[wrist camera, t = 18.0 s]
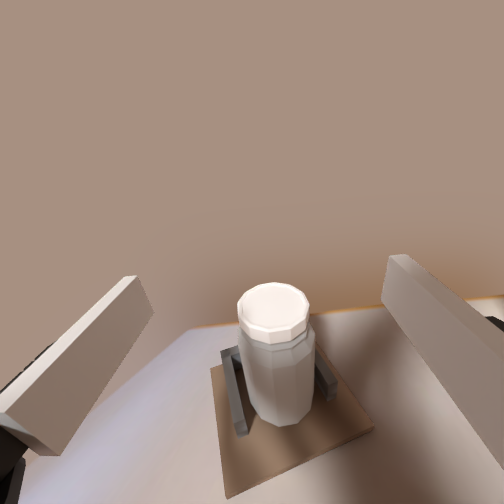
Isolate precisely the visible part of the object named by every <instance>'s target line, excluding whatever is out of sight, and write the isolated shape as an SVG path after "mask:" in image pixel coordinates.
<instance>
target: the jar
mask: <svg viewBox="0 0 504 504" xmlns="http://www.w3.org/2000/svg"><path fill="white" fill-rule="evenodd" d="M237 306H238V318H239V323H240V327H239V329H238V348H239V352H240V357H241V361H242V366H243V371H244V375H245V380H246V384H247V389H248V394H249V398H250V403H251V404H252V406H253V407H254V409H255V410H256V412H257V413H258V415H259V416H260V418H261V419H263V420H265V421H267V422H269V423H272V424H274V425H276V426H278V427H281V426H286V425H292V424H297V423H299V421H300V420H301V419H302V418H303V417H304V416H305V415H306V414H307V413H308V412H309V411H310V410H311V404H312V399H313V393H314V362H315V332H314V330H313V328H312V326H311V324H310V322H309V310H310V304H309V302H308V300H307V298H306V296H305V295H304V293H303V292H302V291H300V290H298V289H297V288H295V287H293V286H292V285H289V284H282V283H276V282H273V283H267V284H261V285H257V286H255V287H254V288H252V289H250V290H248V291H246V292H245V293H244V294H243V296H242V297H241V299H240V300H239V301H238V303H237Z"/></svg>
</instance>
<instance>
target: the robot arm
mask: <svg viewBox="0 0 504 504" xmlns="http://www.w3.org/2000/svg"><path fill="white" fill-rule="evenodd" d="M381 301H382V303H383V304H384V305H385V307H386V308H387V310H388V311H389V312H390V314H391V315H392V316H393V318H394V319H395V321H396V322H397V323H398V325H399V326H400V328H401V329H402V330H403V332H404V333H405V334H406V336H407V337H408V339H409V340H410V341H411V343H412V344H413V345H414V347H415V348H416V350H417V351H418V352H419V354H420V355H421V357H422V358H423V359H424V361H425V362H426V363H427V365H428V366H429V368H430V369H431V370H432V372H433V373H434V375H435V376H436V377H437V379H438V380H439V381H440V383H441V384H442V386H443V387H444V388H445V390H446V391H447V393H448V394H449V395H450V397H451V398H452V399H453V401H454V402H455V404H456V405H457V406H458V408H459V409H460V411H461V412H462V413H463V415H464V416H465V417H466V419H467V420H468V422H469V423H470V424H471V426H472V427H473V429H474V430H475V431H476V433H477V434H478V435H479V437H480V438H481V440H482V441H483V442H484V444H485V445H486V447H487V448H488V449H489V451H490V452H491V453H492V455H493V456H494V458H495V459H496V460H497V462H498V463H499V465H500V466H501V467H502V469H503V470H504V322H503V321H501V320H499V319H497V318H495V317H493V316H489V317H484V316H483V315H481V314H480V313H479V312H478V311H476V310H475V309H474V308H473V307H471V306H470V305H469V304H468V303H466V302H465V301H464V300H463V299H461V298H460V297H459V296H458V295H456V294H455V293H454V292H453V291H451V290H450V289H449V288H448V287H446V286H445V285H444V284H443V283H441V282H440V281H439V280H438V279H437V278H435V277H434V276H433V275H431V274H430V273H429V272H428V271H427V270H425V269H424V268H423V267H421V266H420V265H419V264H418V263H416V262H415V261H414V260H413V259H411V258H410V257H409V256H408V255H406V254H403V255H391V256H389V260H388V265H387V270H386V275H385V280H384V285H383V290H382V295H381ZM153 314H154V311H153V309H152V306H151V304H150V302H149V300H148V298H147V296H146V293H145V291H144V289H143V287H142V285H141V283H140V280H139V278H138V276H126V277H124V278H123V279H122V280H121V281H119V282H118V283H117V284H116V285H115V286H114V287H113V288H112V289H111V290H110V291H109V292H108V293H107V294H106V295H105V296H104V297H103V298H102V299H100V300H99V301H98V302H97V303H96V304H95V305H94V306H93V307H92V308H91V309H90V310H89V311H88V312H87V313H86V314H85V315H83V316H82V317H81V318H80V319H79V320H78V321H77V322H76V323H75V324H74V325H73V326H72V327H71V328H70V329H69V330H68V331H67V332H66V333H65V334H64V335H62V336H61V337H60V338H59V339H58V340H57V341H55V342H54V343H52V344H51V345H50V346H48V347H47V348H46V349H45V350H44V351H43V352H41V353H40V354H39V355H38V356H37V357H36V358H35V360H34V361H32V362H31V363H30V364H29V365H28V366H26V367H25V368H24V371H23V372H20V373H19V374H18V375H17V376H16V377H15V378H14V379H12V381H10V382H9V383H8V384H7V385H6V386H5V387H4V388H3V389H2V390H1V391H0V504H18V500H19V495H20V490H21V485H22V481H23V476H24V471H25V466H26V464H25V459H24V458H23V457H22V455H23V454H24V453H25V452H26V450H27V449H28V448H30V449H31V450H33V451H34V452H36V453H37V454H38V455H40V456H60V455H61V454H62V452H63V451H64V449H65V448H66V446H67V445H68V443H69V442H70V440H71V438H72V437H73V435H74V434H75V432H76V431H77V429H78V428H79V426H80V425H81V423H82V422H83V420H84V419H85V417H86V416H87V414H88V413H89V411H90V410H91V408H92V407H93V405H94V403H95V402H96V401H97V399H98V397H99V396H100V394H101V393H102V391H103V390H104V388H105V387H106V385H107V384H108V382H109V381H110V379H111V378H112V376H113V374H114V373H115V372H116V370H117V369H118V367H119V366H120V364H121V362H122V361H123V360H124V358H125V357H126V355H127V353H128V352H129V350H130V349H131V347H132V346H133V344H134V343H135V341H136V340H137V338H138V337H139V335H140V334H141V332H142V331H143V329H144V328H145V326H146V324H147V323H148V321H149V320H150V318H151V317H152V316H153Z"/></svg>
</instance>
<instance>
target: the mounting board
mask: <svg viewBox="0 0 504 504" xmlns="http://www.w3.org/2000/svg"><path fill="white" fill-rule="evenodd" d="M220 352H221V358H222V365H219V366H216V367H213V368H210V370H211V378H212V387H213V395H214V404H215V412H216V421H217V429H218V438H219V446H220V455H221V463H222V471H223V480H224V488H225V496H226V498H227V499H229V498H231V497H233V496H236V495H238V494H240V493H242V492H244V491H246V490H248V489H250V488H252V487H254V486H256V485H259V484H261V483H263V482H265V481H267V480H269V479H271V478H273V477H275V476H277V475H280V474H282V473H284V472H286V471H288V470H290V469H292V468H294V467H296V466H298V465H300V464H303V463H305V462H307V461H309V460H311V459H313V458H315V457H317V456H319V455H321V454H324V453H326V452H328V451H330V450H332V449H334V448H336V447H338V446H340V445H342V444H345V443H347V442H349V441H351V440H353V439H355V438H357V437H359V436H361V435H363V434H365V433H368V432H370V431H372V430H373V429H374V424H373V422H372V421H371V420H370V418H369V417H368V415H367V414H366V412H365V411H364V410H363V408H362V407H361V405H360V404H359V402H358V401H357V400H356V398H355V397H354V395H353V394H352V392H351V391H350V390H349V388H348V387H347V385H346V384H345V382H344V381H343V380H342V378H341V377H340V375H339V374H338V372H337V371H336V370H335V368H334V367H333V365H332V364H331V362H330V361H329V360H328V358H327V357H326V355H325V354H324V352H323V351H322V350H321V348H320V347H319V345H318V344H317V342H316V341H315V362H314V393H313V399H312V404H311V410H310V411H309V412H308V413H307V414H306V415H305V416H304V417H303V418H302V419H301V420H300V421H299V423H297V424H292V425H286V426H281V427H278V426H276V425H274V424H272V423H269V422H267V421H265V420H263V419H261V418H260V416H259V415H258V413H257V412H256V410H255V409H254V407H253V406H252V404H251V403H250V398H249V394H248V389H247V384H246V380H245V375H244V371H243V366H242V361H241V357H240V352H239V348H238V345H237V346H234V347H231V348H228V349H225V350H222V351H220Z"/></svg>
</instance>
